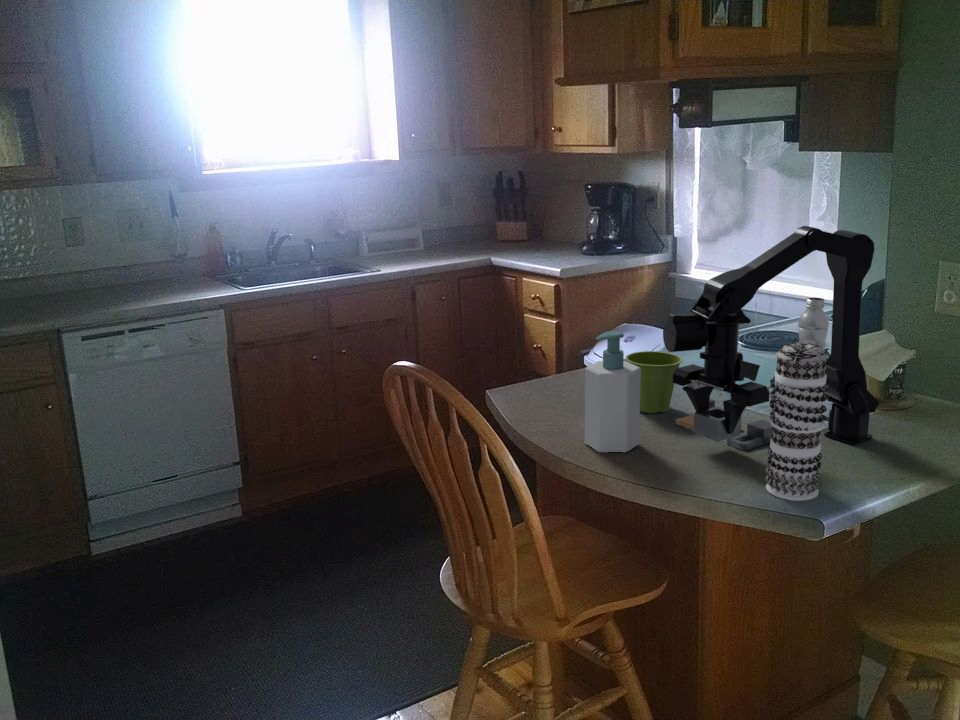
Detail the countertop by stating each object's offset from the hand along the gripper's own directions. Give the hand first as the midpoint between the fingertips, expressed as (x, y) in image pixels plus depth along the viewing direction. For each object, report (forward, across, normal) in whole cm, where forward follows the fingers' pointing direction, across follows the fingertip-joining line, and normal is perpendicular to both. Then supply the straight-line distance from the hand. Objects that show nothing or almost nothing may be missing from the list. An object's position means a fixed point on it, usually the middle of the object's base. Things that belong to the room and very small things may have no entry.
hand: (717, 428), depth 170 cm
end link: (+1, 0, 0) cm, 1 cm away
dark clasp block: (+4, -1, -9) cm, 10 cm away
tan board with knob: (+4, +10, -8) cm, 14 cm away
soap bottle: (+4, +14, +14) cm, 20 cm away
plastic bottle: (+5, +16, -48) cm, 50 cm away
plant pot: (+5, +25, -8) cm, 27 cm away
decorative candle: (+5, -20, +4) cm, 21 cm away
